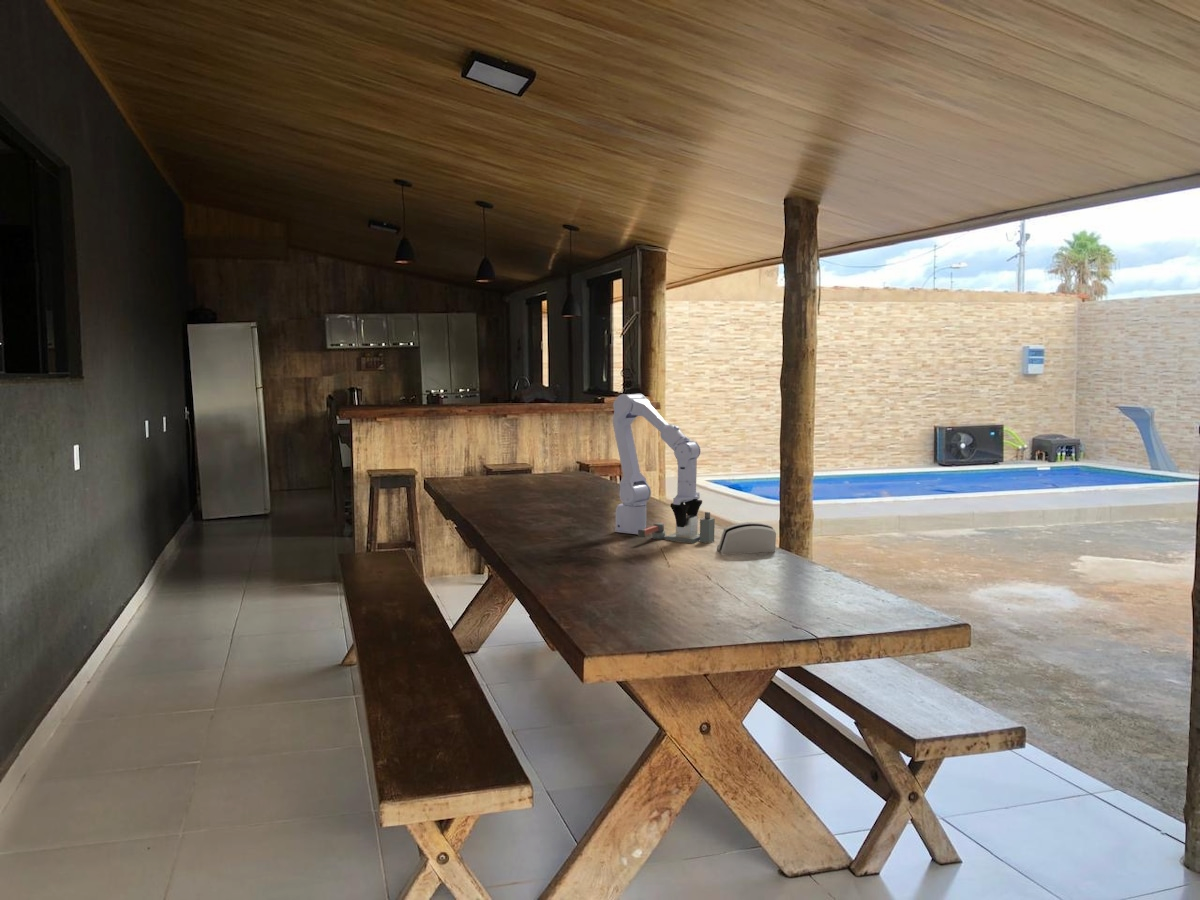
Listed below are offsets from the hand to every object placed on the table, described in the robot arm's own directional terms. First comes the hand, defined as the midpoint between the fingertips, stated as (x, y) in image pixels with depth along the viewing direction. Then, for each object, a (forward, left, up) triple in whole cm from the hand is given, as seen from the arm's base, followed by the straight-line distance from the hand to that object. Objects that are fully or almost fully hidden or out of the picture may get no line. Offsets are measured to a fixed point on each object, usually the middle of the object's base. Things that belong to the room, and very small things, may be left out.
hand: (686, 525), depth 287 cm
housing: (0, 0, -3) cm, 3 cm away
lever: (-8, -8, -2) cm, 12 cm away
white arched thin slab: (+23, -8, -5) cm, 25 cm away
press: (0, 0, -4) cm, 4 cm away
